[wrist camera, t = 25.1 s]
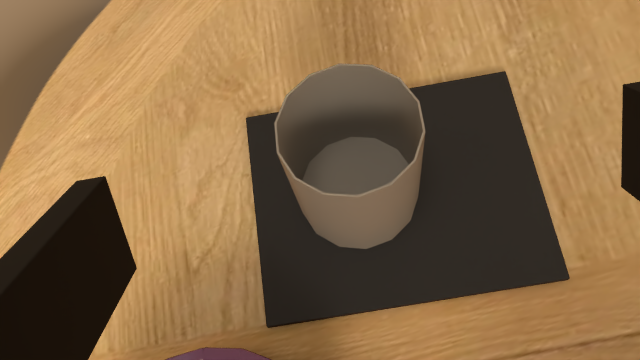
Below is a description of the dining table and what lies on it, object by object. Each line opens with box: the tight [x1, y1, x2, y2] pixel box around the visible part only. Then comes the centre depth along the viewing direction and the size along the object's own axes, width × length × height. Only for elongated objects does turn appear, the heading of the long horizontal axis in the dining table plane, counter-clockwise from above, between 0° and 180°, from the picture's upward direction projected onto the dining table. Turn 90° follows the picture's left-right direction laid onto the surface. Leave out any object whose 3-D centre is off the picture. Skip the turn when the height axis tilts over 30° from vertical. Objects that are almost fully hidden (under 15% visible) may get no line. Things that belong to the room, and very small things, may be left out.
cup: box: [274, 64, 425, 249], centre depth 37 cm, size 8×8×10 cm
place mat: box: [246, 71, 570, 328], centre depth 42 cm, size 20×16×1 cm
